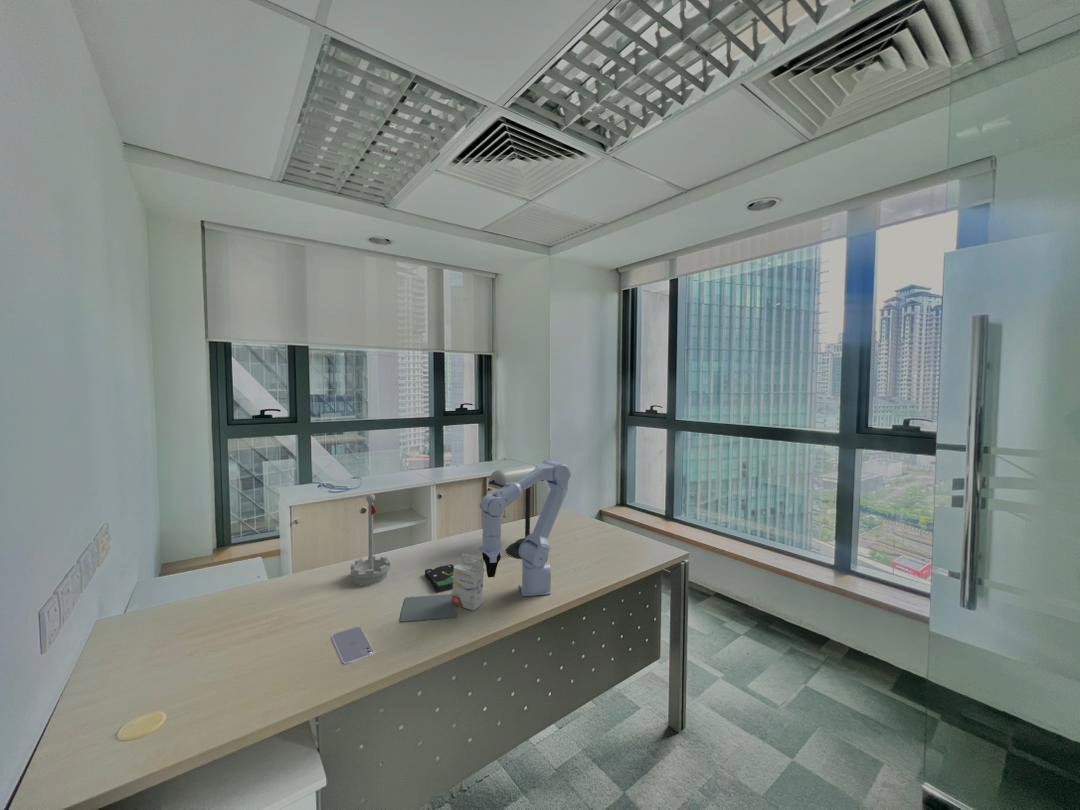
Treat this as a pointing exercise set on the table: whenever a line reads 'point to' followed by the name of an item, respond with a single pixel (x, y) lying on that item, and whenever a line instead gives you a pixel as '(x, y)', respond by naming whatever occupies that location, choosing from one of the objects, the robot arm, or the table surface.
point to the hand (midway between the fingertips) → (491, 576)
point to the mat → (428, 608)
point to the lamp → (514, 475)
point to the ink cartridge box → (468, 583)
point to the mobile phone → (352, 645)
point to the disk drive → (441, 577)
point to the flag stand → (370, 557)
